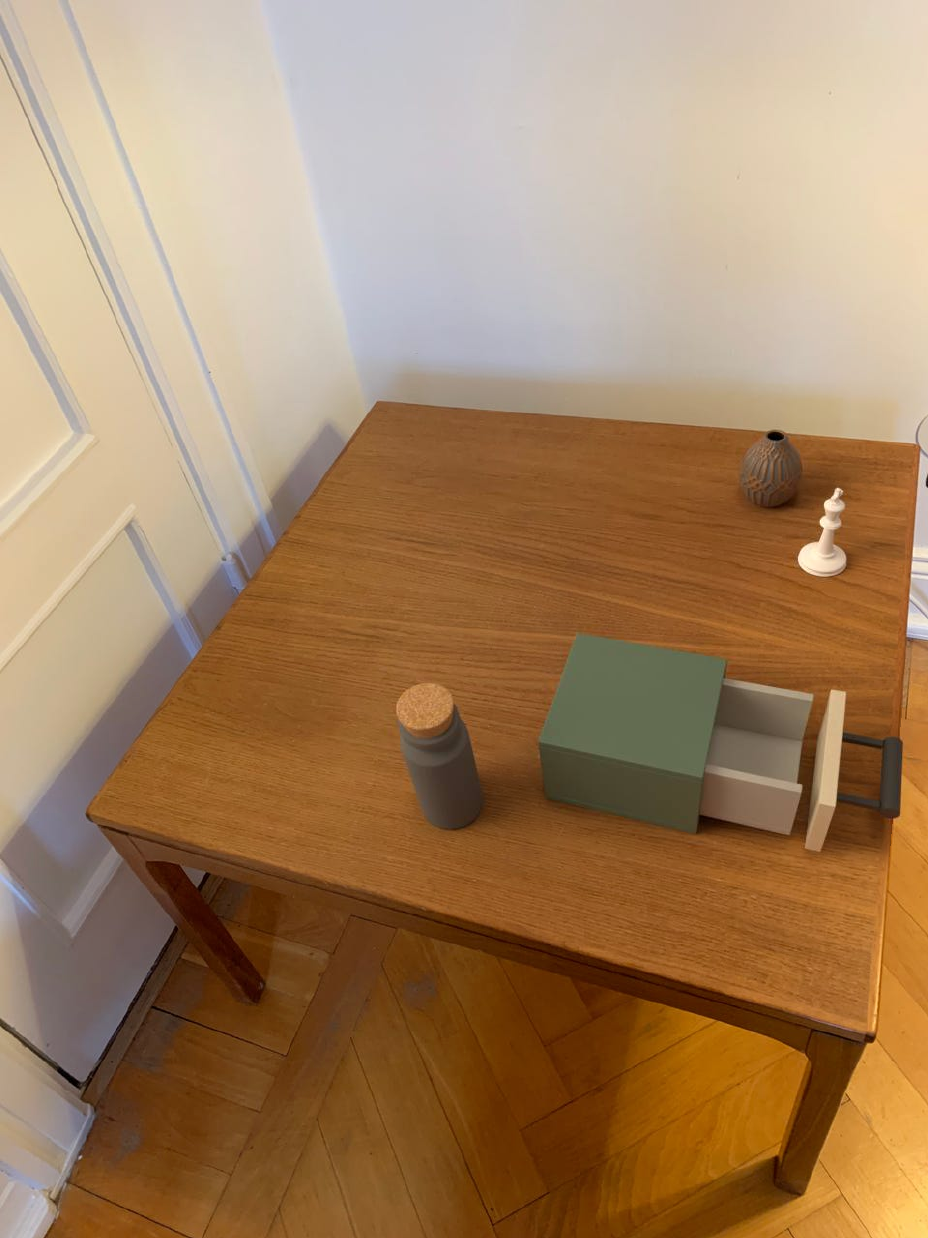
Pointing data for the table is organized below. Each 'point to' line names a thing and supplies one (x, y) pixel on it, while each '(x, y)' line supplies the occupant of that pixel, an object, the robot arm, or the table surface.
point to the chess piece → (826, 543)
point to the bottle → (439, 756)
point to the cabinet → (632, 730)
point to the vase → (770, 470)
